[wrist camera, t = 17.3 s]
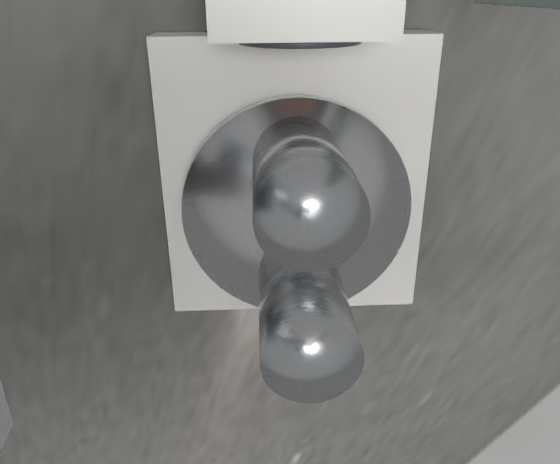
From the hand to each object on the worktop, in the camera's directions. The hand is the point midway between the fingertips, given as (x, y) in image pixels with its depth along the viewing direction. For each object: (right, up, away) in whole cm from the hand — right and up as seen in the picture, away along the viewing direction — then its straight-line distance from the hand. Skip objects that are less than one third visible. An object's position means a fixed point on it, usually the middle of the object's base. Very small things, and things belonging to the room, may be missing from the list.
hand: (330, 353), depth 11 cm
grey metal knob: (0, 0, +16) cm, 16 cm away
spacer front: (0, +6, +14) cm, 15 cm away
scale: (0, +7, +17) cm, 18 cm away
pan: (0, +4, +16) cm, 16 cm away
